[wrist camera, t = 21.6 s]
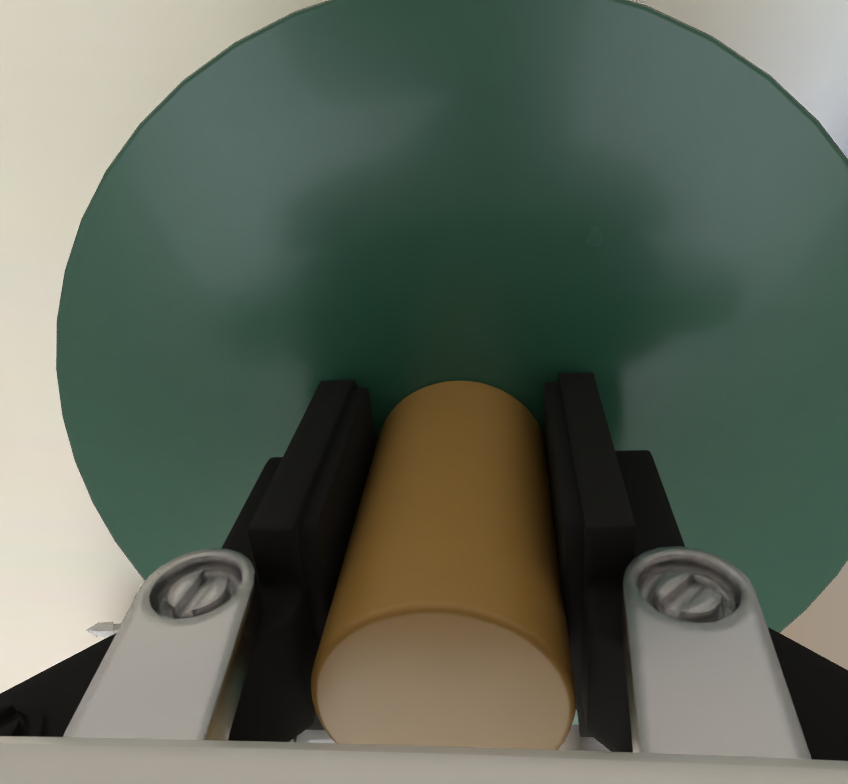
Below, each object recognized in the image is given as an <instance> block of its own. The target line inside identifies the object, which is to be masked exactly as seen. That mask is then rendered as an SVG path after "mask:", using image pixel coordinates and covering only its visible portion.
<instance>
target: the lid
mask: <svg viewBox="0 0 848 784" xmlns="http://www.w3.org/2000/svg"><path fill="white" fill-rule="evenodd" d="M56 371H57V378H58V385H59V393H60V400H61V408H62V415H63V419H64V423H65V427H66V430H67V434H68V437H69V441H70V445H71V448H72V452H73V456H74V459H75V462H76V464H77V467H78V469H79V472H80V474H81V476H82V479H83V481H84V483H85V486H86V488H87V490H88V493H89V495H90V498H91V500H92V502H93V504H94V506H95V507H96V509H97V511H98V513H99V514H100V516H101V518H102V520H103V521H104V523H105V525H106V527H107V528H108V530H109V532H110V533H111V535H112V537H113V539H114V540H115V542H116V543H117V544H118V546H119V547H120V548H121V550H122V551H123V553H124V554H125V555H126V557H127V558H128V559H129V561H130V562H131V563H132V565H133V566H134V567H135V569H136V570H137V571H138V573H139V574H140V575H141V576H142V578H143V579H144V580H145V581H146V579H147V578H148V577H149V576H150V575H151V574H152V573H153V572H155V571H156V570H157V569H158V568H159V567H161V566H162V565H163V564H165V563H167V562H169V561H171V560H173V559H174V558H176V557H178V556H181V555H184V554H187V553H190V552H193V551H197V550H203V549H210V548H222V546H223V544H224V542H225V540H226V538H227V537H228V535H229V533H230V531H231V529H232V527H233V525H234V523H235V521H236V519H237V518H238V516H239V514H240V512H241V510H242V508H243V506H244V504H245V502H246V500H247V499H248V497H249V495H250V493H251V491H252V489H253V487H254V485H255V483H256V481H257V480H258V478H259V476H260V474H261V472H262V470H263V468H264V466H265V464H266V463H267V461H268V460H269V459H270V458H273V457H283V456H284V454H285V452H286V450H287V448H288V446H289V444H290V442H291V440H292V438H293V436H294V434H295V432H296V430H297V428H298V426H299V424H300V422H301V420H302V418H303V416H304V414H305V412H306V410H307V407H308V405H309V403H310V401H311V399H312V397H313V395H314V393H315V391H316V389H317V387H318V385H319V383H320V382H321V381H331V380H355V381H356V383H357V386H358V388H368V390H369V394H370V400H371V408H372V416H373V424H374V432H375V440H376V448H375V452H374V455H373V459H372V462H371V466H370V469H369V473H368V476H367V480H366V483H365V487H364V490H363V494H362V497H361V501H360V504H359V508H358V511H357V515H356V518H355V522H354V525H353V529H352V532H351V536H350V539H349V543H348V546H347V550H346V553H345V557H344V560H343V564H342V567H341V571H340V574H339V578H338V581H337V585H336V588H335V592H334V595H333V599H332V602H331V606H330V609H329V613H328V616H327V620H326V623H325V627H324V630H323V634H322V637H321V641H320V644H319V648H318V651H317V655H316V658H315V662H314V666H313V670H312V674H311V693H312V700H313V704H314V707H315V711H316V714H317V716H318V718H319V720H320V722H321V724H322V726H323V728H324V729H325V731H326V732H327V733H328V735H329V736H330V737H331V739H332V740H333V741H334V742H335V743H339V744H376V745H411V746H445V747H479V748H513V749H543V750H558V749H559V748H560V746H561V745H562V744H563V743H564V741H565V739H566V737H567V735H568V733H569V731H570V729H571V726H574V725H579V723H578V714H577V710H576V690H575V682H574V674H573V665H572V657H571V649H570V640H569V632H568V624H567V619H566V615H565V611H564V604H563V595H562V586H561V578H560V569H559V561H558V552H557V543H556V535H555V526H554V518H553V509H552V500H551V492H550V483H549V475H548V466H547V457H546V449H545V383H548V382H557V377H558V373H584V372H593V374H594V377H595V381H596V384H597V388H598V391H599V395H600V399H601V402H602V406H603V409H604V413H605V417H606V420H607V424H608V427H609V431H610V434H611V438H612V442H613V445H614V449H615V451H626V450H648V451H650V452H651V454H652V456H653V459H654V462H655V465H656V467H657V470H658V473H659V476H660V478H661V481H662V484H663V487H664V490H665V492H666V495H667V498H668V501H669V503H670V506H671V509H672V512H673V514H674V517H675V520H676V523H677V525H678V528H679V531H680V534H681V536H682V539H683V542H684V545H685V547H688V548H695V549H700V550H703V551H706V552H709V553H712V554H715V555H718V556H720V557H722V558H723V559H725V560H727V561H729V562H730V563H732V564H734V565H735V566H736V567H737V568H738V569H740V570H741V571H742V572H743V573H744V574H745V575H746V576H747V577H748V579H749V580H750V582H751V584H752V586H753V587H754V589H755V591H756V594H757V597H758V600H759V603H760V606H761V609H762V612H763V615H764V618H765V621H766V624H767V627H769V628H771V629H773V630H774V631H776V632H778V633H780V632H781V631H782V630H783V629H784V628H785V627H787V626H788V625H789V624H790V623H791V622H792V621H794V620H795V619H796V618H797V617H798V616H799V615H801V614H802V613H803V612H804V611H805V610H806V609H807V608H808V607H809V606H810V605H811V603H812V602H813V601H814V600H815V599H816V598H817V597H818V596H819V595H820V594H821V592H822V591H823V590H824V589H825V588H826V587H827V586H828V585H829V584H830V582H831V581H832V580H833V579H834V578H835V577H836V576H837V574H838V573H839V572H840V570H841V569H842V567H843V566H844V564H845V563H846V561H847V560H848V159H847V158H846V156H845V155H844V154H843V153H842V151H841V150H840V149H839V147H838V146H837V145H836V143H835V142H834V141H833V139H832V138H831V137H830V135H829V134H828V133H827V131H826V130H825V129H824V127H823V126H822V125H821V124H820V122H819V121H818V120H817V119H816V118H815V117H814V116H813V115H812V114H811V113H809V112H808V111H807V110H806V109H805V108H804V107H803V106H802V105H801V104H800V103H799V102H798V101H797V100H796V99H795V98H794V97H793V96H791V95H790V94H789V93H788V92H787V91H786V90H785V89H784V88H783V87H782V86H781V85H780V84H779V83H778V82H777V81H776V80H775V79H773V78H772V77H771V76H770V75H769V74H767V73H766V72H765V71H763V70H762V69H760V68H759V67H757V66H756V65H754V64H753V63H751V62H750V61H748V60H747V59H745V58H744V57H742V56H741V55H739V54H738V53H736V52H735V51H734V50H732V49H731V48H729V47H728V46H726V45H725V44H723V43H722V42H720V41H719V40H717V39H716V38H714V37H713V36H711V35H709V34H707V33H705V32H702V31H700V30H698V29H696V28H694V27H692V26H690V25H687V24H685V23H683V22H681V21H679V20H677V19H675V18H673V17H670V16H668V15H666V14H664V13H662V12H660V11H658V10H655V9H653V8H651V7H649V6H647V5H643V4H640V3H636V2H633V1H629V0H328V1H325V2H322V3H319V4H316V5H313V6H310V7H307V8H304V9H301V10H298V11H295V12H293V13H291V14H289V15H287V16H285V17H283V18H281V19H279V20H277V21H275V22H273V23H271V24H270V25H268V26H266V27H264V28H262V29H260V30H258V31H256V32H254V33H252V34H250V35H248V36H246V37H244V38H242V39H240V40H239V41H237V42H235V43H233V44H232V45H231V46H229V47H228V48H227V49H225V50H224V51H222V52H221V53H220V54H218V55H217V56H216V57H214V58H213V59H211V60H210V61H209V62H207V63H206V64H205V65H203V66H202V67H201V68H199V69H198V70H196V71H195V72H194V73H192V74H191V75H190V76H188V77H187V78H185V79H184V80H183V81H182V82H181V83H180V84H179V85H178V86H177V87H176V88H175V89H174V90H173V91H172V92H171V93H170V94H169V95H168V96H167V97H166V98H165V99H164V100H163V101H162V102H161V103H160V104H159V105H158V106H157V107H156V108H155V109H154V110H153V111H152V112H151V113H150V114H149V115H148V116H147V117H146V118H145V119H144V120H143V121H142V122H141V123H140V124H139V126H138V127H137V128H136V130H135V131H134V133H133V134H132V135H131V137H130V138H129V140H128V141H127V142H126V144H125V145H124V146H123V148H122V149H121V151H120V152H119V153H118V155H117V156H116V158H115V159H114V160H113V162H112V163H111V164H110V166H109V167H108V169H107V170H106V172H105V174H104V176H103V178H102V180H101V182H100V184H99V186H98V188H97V190H96V192H95V194H94V196H93V198H92V200H91V202H90V204H89V205H88V207H87V209H86V211H85V213H84V215H83V217H82V219H81V222H80V225H79V229H78V232H77V235H76V238H75V241H74V244H73V247H72V250H71V253H70V256H69V260H68V263H67V266H66V269H65V273H64V279H63V286H62V292H61V298H60V305H59V311H58V317H57V358H56Z"/></svg>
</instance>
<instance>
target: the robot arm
mask: <svg viewBox="0 0 848 784" xmlns="http://www.w3.org/2000/svg"><path fill="white" fill-rule="evenodd" d="M375 448H376V440H375V432H374V424H373V416H372V408H371V400H370V394H369V390H368V388H358V386H357V383H356V381H355V380H331V381H321V382H320V383H319V385H318V387H317V389H316V391H315V393H314V395H313V397H312V399H311V401H310V403H309V405H308V407H307V410H306V412H305V414H304V416H303V418H302V420H301V422H300V424H299V426H298V428H297V430H296V432H295V434H294V436H293V438H292V440H291V442H290V444H289V446H288V448H287V450H286V452H285V454H284V456H283V457H273V458H270V459H269V460H268V461H267V463H266V464H265V466H264V468H263V470H262V472H261V474H260V476H259V478H258V480H257V481H256V483H255V485H254V487H253V489H252V491H251V493H250V495H249V497H248V499H247V500H246V502H245V504H244V506H243V508H242V510H241V512H240V514H239V516H238V518H237V519H236V521H235V523H234V525H233V527H232V529H231V531H230V533H229V535H228V537H227V538H226V540H225V542H224V544H223V546H222V548H210V549H203V550H197V551H193V552H190V553H187V554H184V555H181V556H178V557H176V558H174V559H173V560H171V561H169V562H167V563H165V564H163V565H162V566H161V567H159V568H158V569H157V570H156V571H155V572H153V573H152V574H151V575H150V576H149V577H148V578H147V579H146V581H145V582H144V583H143V585H142V586H141V587H140V589H139V591H138V593H137V595H136V597H135V599H134V600H133V602H132V604H131V606H130V608H129V610H128V612H127V614H126V616H125V618H124V620H123V622H122V623H121V625H120V627H119V629H118V631H117V633H115V634H113V635H111V636H110V637H108V638H106V639H104V640H102V641H100V642H98V643H96V644H94V645H92V646H90V647H89V648H87V649H85V650H83V651H81V652H79V653H77V654H75V655H73V656H71V657H70V658H68V659H66V660H64V661H62V662H60V663H58V664H56V665H54V666H52V667H50V668H49V669H47V670H45V671H43V672H41V673H39V674H37V675H35V676H33V677H31V678H30V679H28V680H26V681H24V682H22V683H20V684H18V685H16V686H14V687H12V688H10V689H9V690H7V691H5V692H3V693H1V694H0V784H848V670H846V669H844V668H842V667H841V666H839V665H837V664H835V663H833V662H831V661H830V660H828V659H826V658H824V657H822V656H820V655H818V654H817V653H815V652H813V651H811V650H809V649H807V648H806V647H804V646H802V645H800V644H798V643H796V642H795V641H793V640H791V639H789V638H787V637H785V636H784V635H782V634H780V633H778V632H776V631H774V630H773V629H771V628H769V627H767V624H766V621H765V618H764V615H763V612H762V609H761V606H760V603H759V600H758V597H757V594H756V591H755V589H754V587H753V586H752V584H751V582H750V580H749V579H748V577H747V576H746V575H745V574H744V573H743V572H742V571H741V570H740V569H738V568H737V567H736V566H735V565H734V564H732V563H730V562H729V561H727V560H725V559H723V558H722V557H720V556H718V555H715V554H712V553H709V552H706V551H703V550H700V549H695V548H688V547H685V545H684V542H683V539H682V536H681V534H680V531H679V528H678V525H677V523H676V520H675V517H674V514H673V512H672V509H671V506H670V503H669V501H668V498H667V495H666V492H665V490H664V487H663V484H662V481H661V478H660V476H659V473H658V470H657V467H656V465H655V462H654V459H653V456H652V454H651V452H650V451H648V450H626V451H615V449H614V445H613V442H612V438H611V434H610V431H609V427H608V424H607V420H606V417H605V413H604V409H603V406H602V402H601V399H600V395H599V391H598V388H597V384H596V381H595V377H594V374H593V372H584V373H558V377H557V382H548V383H545V449H546V457H547V466H548V475H549V483H550V492H551V500H552V509H553V518H554V526H555V535H556V543H557V552H558V561H559V569H560V578H561V586H562V595H563V604H564V611H565V615H566V619H567V624H568V632H569V640H570V649H571V657H572V665H573V674H574V682H575V690H576V710H577V714H578V723H579V732H580V737H594V738H595V739H596V740H598V741H599V742H600V743H601V744H603V745H604V746H605V747H606V748H608V749H609V750H610V751H611V752H602V751H573V750H543V749H513V748H479V747H445V746H411V745H376V744H339V743H303V742H295V739H294V738H295V737H296V736H298V735H299V734H301V733H302V732H303V731H305V730H325V729H324V728H323V726H322V724H321V722H320V720H319V718H318V716H317V714H316V711H315V707H314V704H313V700H312V693H311V674H312V670H313V666H314V662H315V658H316V655H317V651H318V648H319V644H320V641H321V637H322V634H323V630H324V627H325V623H326V620H327V616H328V613H329V609H330V606H331V602H332V599H333V595H334V592H335V588H336V585H337V581H338V578H339V574H340V571H341V567H342V564H343V560H344V557H345V553H346V550H347V546H348V543H349V539H350V536H351V532H352V529H353V525H354V522H355V518H356V515H357V511H358V508H359V504H360V501H361V497H362V494H363V490H364V487H365V483H366V480H367V476H368V473H369V469H370V466H371V462H372V459H373V455H374V452H375Z"/></svg>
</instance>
